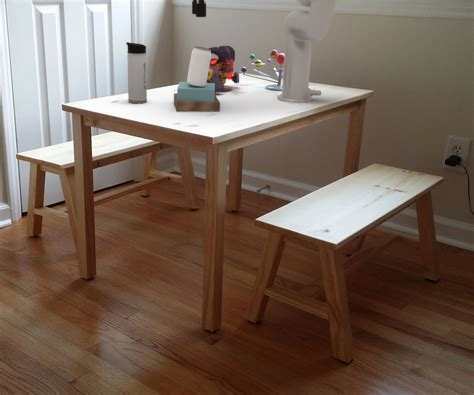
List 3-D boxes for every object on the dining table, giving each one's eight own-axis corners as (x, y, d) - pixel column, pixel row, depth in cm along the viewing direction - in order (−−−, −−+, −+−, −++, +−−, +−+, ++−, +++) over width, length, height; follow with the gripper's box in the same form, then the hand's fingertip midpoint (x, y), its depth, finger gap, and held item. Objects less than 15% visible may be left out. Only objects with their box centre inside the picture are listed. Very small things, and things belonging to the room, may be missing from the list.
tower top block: (214, 94, 216) (214, 83, 215) (214, 102, 205) (214, 89, 204) (179, 93, 216) (179, 81, 215) (177, 100, 205) (177, 88, 203)
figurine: (218, 97, 230) (220, 50, 224) (188, 91, 237) (188, 46, 231) (246, 89, 246) (248, 46, 240) (217, 84, 253) (218, 42, 247)
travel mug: (125, 100, 218) (124, 41, 211) (144, 99, 220) (143, 41, 213) (129, 104, 213) (128, 43, 206) (148, 103, 215) (148, 43, 208)
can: (202, 88, 205) (208, 51, 201) (183, 83, 206) (190, 46, 202) (208, 85, 211) (214, 49, 207) (190, 81, 212) (196, 45, 208)
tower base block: (214, 105, 219) (214, 93, 218) (219, 114, 207) (219, 102, 205) (173, 104, 217) (173, 93, 216) (176, 114, 204) (176, 102, 203)
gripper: (215, -42, 187) (214, 18, 193) (207, -42, 203) (206, 13, 209) (190, -42, 186) (190, 18, 192) (184, -43, 202) (184, 13, 208)
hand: (198, 15), depth 201 cm, fingers open, 9 cm apart
